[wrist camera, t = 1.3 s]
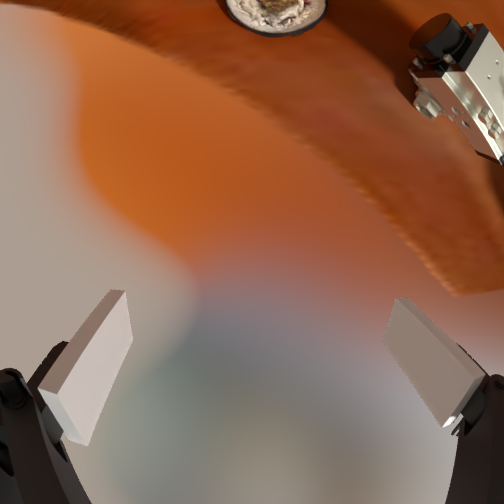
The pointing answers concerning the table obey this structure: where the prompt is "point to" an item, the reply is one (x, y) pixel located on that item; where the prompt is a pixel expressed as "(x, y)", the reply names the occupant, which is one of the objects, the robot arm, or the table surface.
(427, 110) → the ball valve
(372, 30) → the table surface
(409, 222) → the table surface
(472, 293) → the table surface
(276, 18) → the white shallow bowl
